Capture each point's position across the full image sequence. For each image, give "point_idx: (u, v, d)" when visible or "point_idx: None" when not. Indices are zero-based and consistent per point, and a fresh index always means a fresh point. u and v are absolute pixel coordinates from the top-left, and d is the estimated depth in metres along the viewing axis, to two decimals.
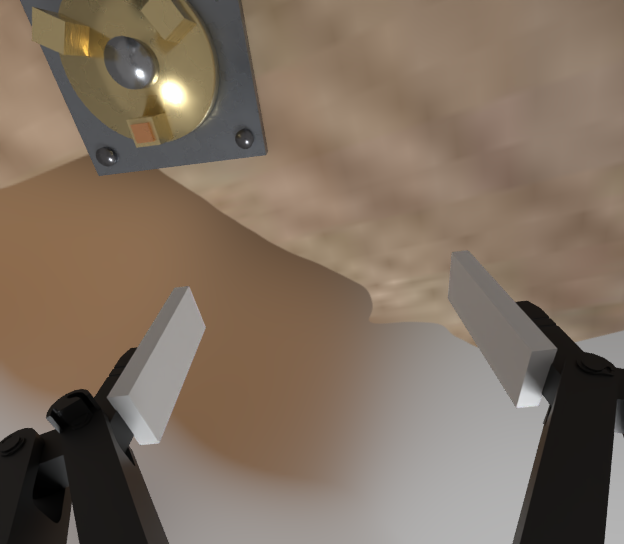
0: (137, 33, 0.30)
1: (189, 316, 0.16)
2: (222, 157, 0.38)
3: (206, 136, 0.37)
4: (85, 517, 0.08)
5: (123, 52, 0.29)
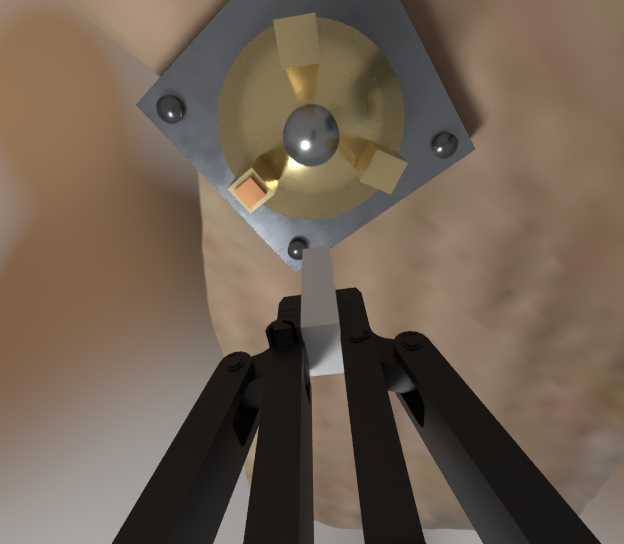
0: (342, 123, 0.25)
1: None
2: (265, 236, 0.32)
3: (275, 212, 0.31)
4: (265, 429, 0.09)
5: (320, 129, 0.23)
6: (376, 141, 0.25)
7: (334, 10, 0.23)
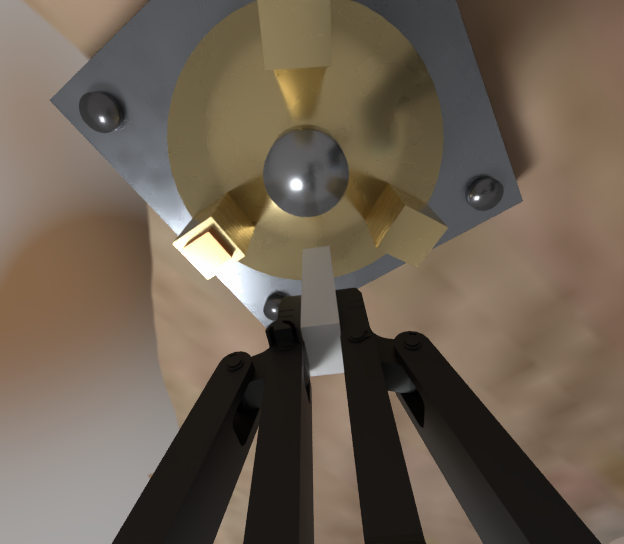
0: (352, 156, 0.17)
1: None
2: (234, 288, 0.24)
3: None
4: (265, 429, 0.09)
5: (321, 166, 0.15)
6: (398, 185, 0.18)
7: None
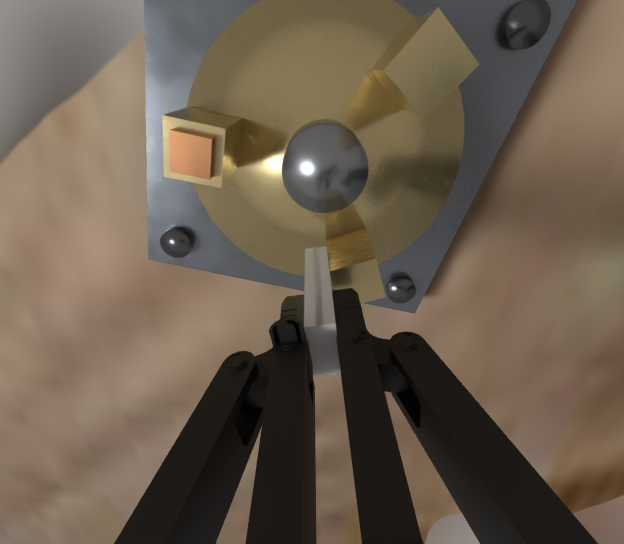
0: None
1: None
2: (152, 192, 0.21)
3: (192, 183, 0.20)
4: (268, 429, 0.09)
5: (342, 175, 0.15)
6: (370, 236, 0.19)
7: None
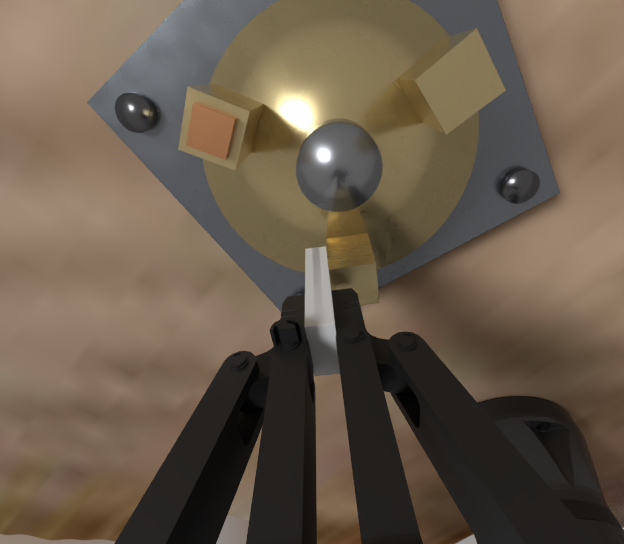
0: None
1: None
2: (151, 45, 0.17)
3: (201, 74, 0.18)
4: (269, 429, 0.09)
5: (355, 177, 0.15)
6: (370, 241, 0.19)
7: None
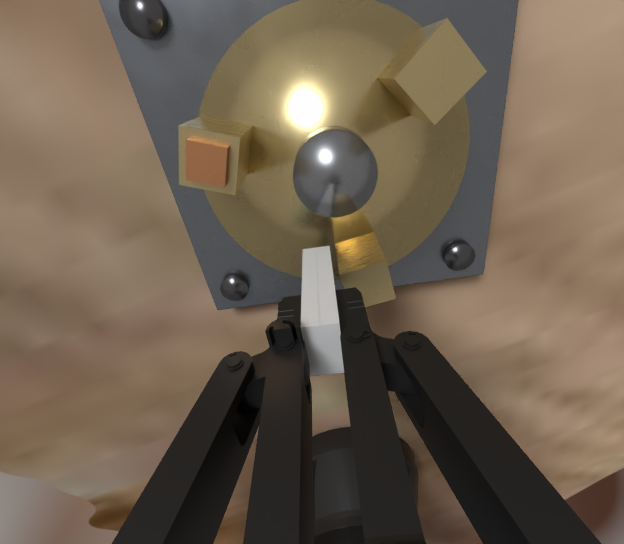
0: None
1: None
2: None
3: (234, 16, 0.16)
4: (265, 429, 0.09)
5: (352, 180, 0.16)
6: (378, 239, 0.19)
7: None
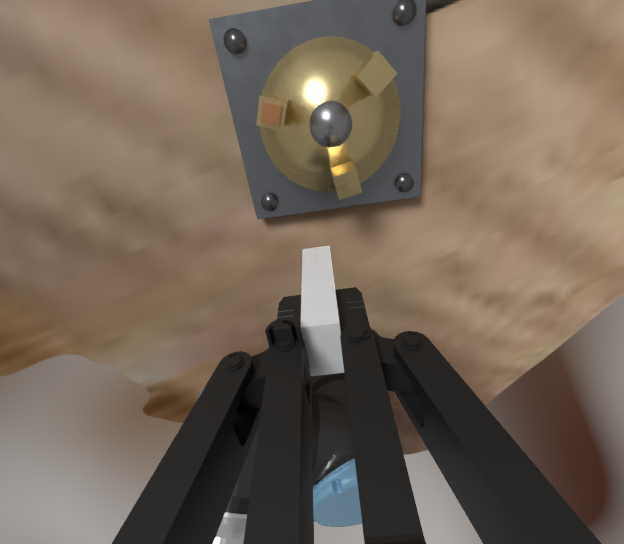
0: (349, 136, 0.34)
1: None
2: (262, 14, 0.31)
3: (280, 43, 0.32)
4: (265, 429, 0.09)
5: (339, 127, 0.31)
6: (354, 165, 0.35)
7: None
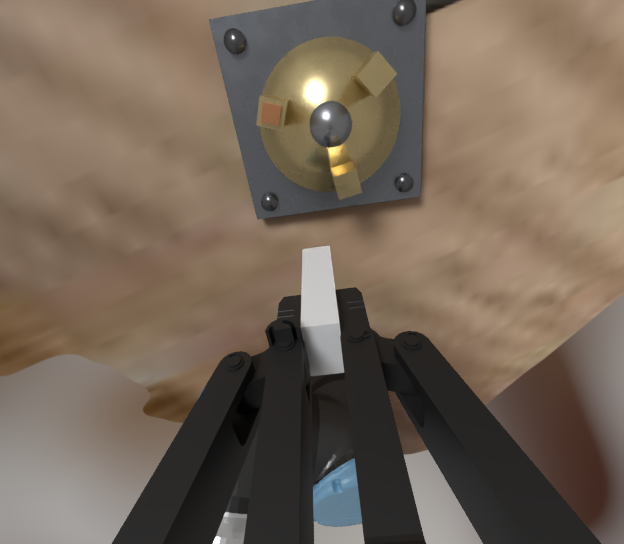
0: (349, 137, 0.34)
1: None
2: (262, 14, 0.31)
3: (280, 43, 0.32)
4: (265, 429, 0.09)
5: (339, 127, 0.31)
6: (354, 166, 0.35)
7: None
